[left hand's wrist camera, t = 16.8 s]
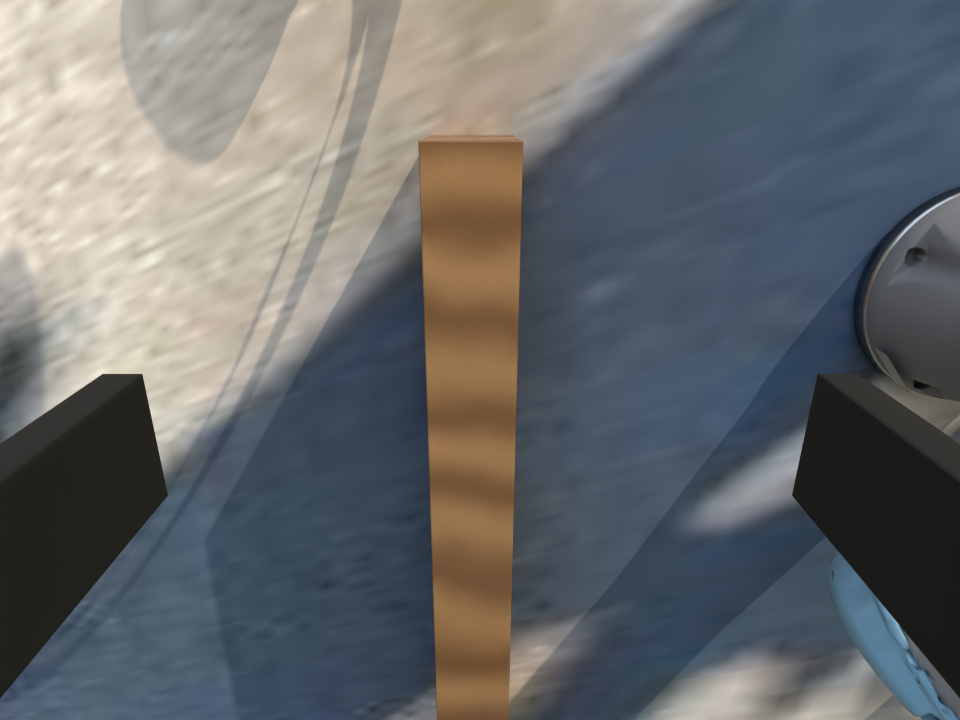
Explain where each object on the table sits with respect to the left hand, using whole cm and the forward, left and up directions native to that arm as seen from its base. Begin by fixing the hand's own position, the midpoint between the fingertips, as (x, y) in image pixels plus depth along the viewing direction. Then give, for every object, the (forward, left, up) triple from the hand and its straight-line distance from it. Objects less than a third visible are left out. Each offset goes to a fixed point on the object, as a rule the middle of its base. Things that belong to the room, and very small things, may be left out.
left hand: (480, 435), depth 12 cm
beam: (+11, +34, -32) cm, 48 cm away
